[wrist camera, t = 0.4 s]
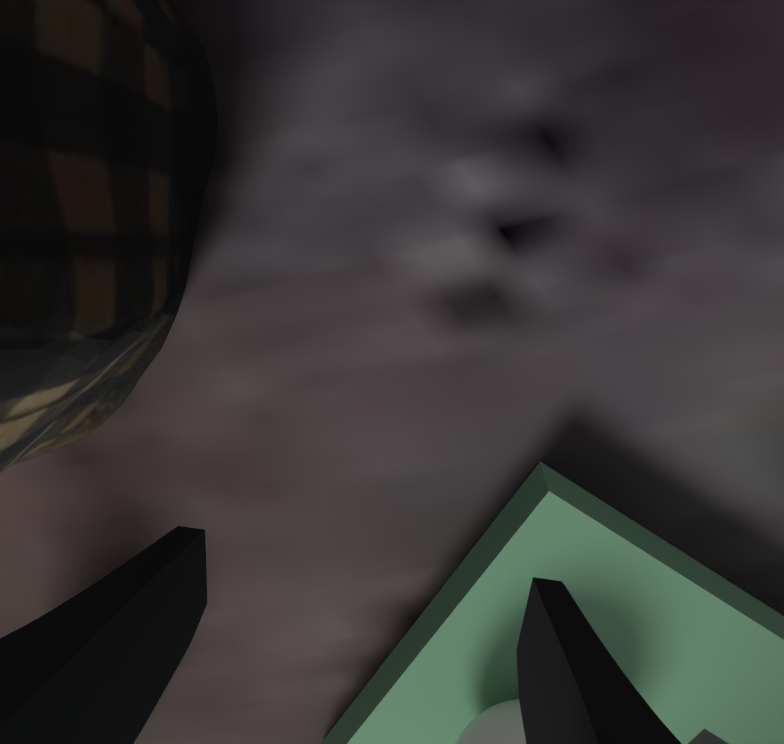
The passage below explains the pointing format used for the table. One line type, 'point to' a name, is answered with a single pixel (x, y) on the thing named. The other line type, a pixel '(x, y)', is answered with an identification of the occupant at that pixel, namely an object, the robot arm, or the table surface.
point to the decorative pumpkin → (93, 205)
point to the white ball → (496, 726)
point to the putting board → (604, 613)
